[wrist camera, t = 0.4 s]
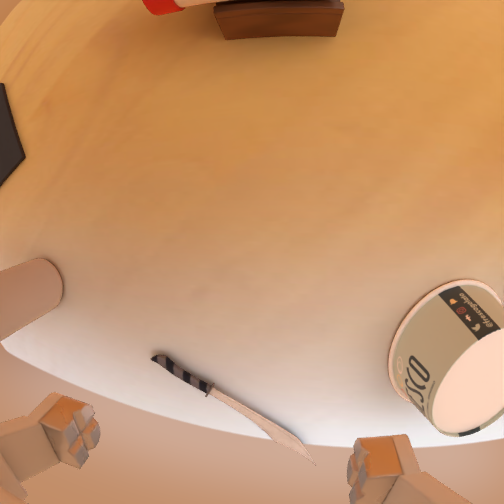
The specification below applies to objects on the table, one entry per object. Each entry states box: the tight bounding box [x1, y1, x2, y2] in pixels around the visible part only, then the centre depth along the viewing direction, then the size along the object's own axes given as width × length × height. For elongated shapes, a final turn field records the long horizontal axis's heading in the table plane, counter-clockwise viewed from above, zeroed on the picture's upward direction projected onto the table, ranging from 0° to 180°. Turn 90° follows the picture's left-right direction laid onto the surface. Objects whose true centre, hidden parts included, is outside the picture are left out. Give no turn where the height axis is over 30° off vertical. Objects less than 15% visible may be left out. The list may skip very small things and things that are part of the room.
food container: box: [388, 280, 504, 437], centre depth 19 cm, size 12×12×6 cm
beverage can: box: [0, 258, 63, 341], centre depth 19 cm, size 5×5×12 cm
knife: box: [151, 355, 316, 465], centre depth 25 cm, size 19×2×1 cm, turn 50°
